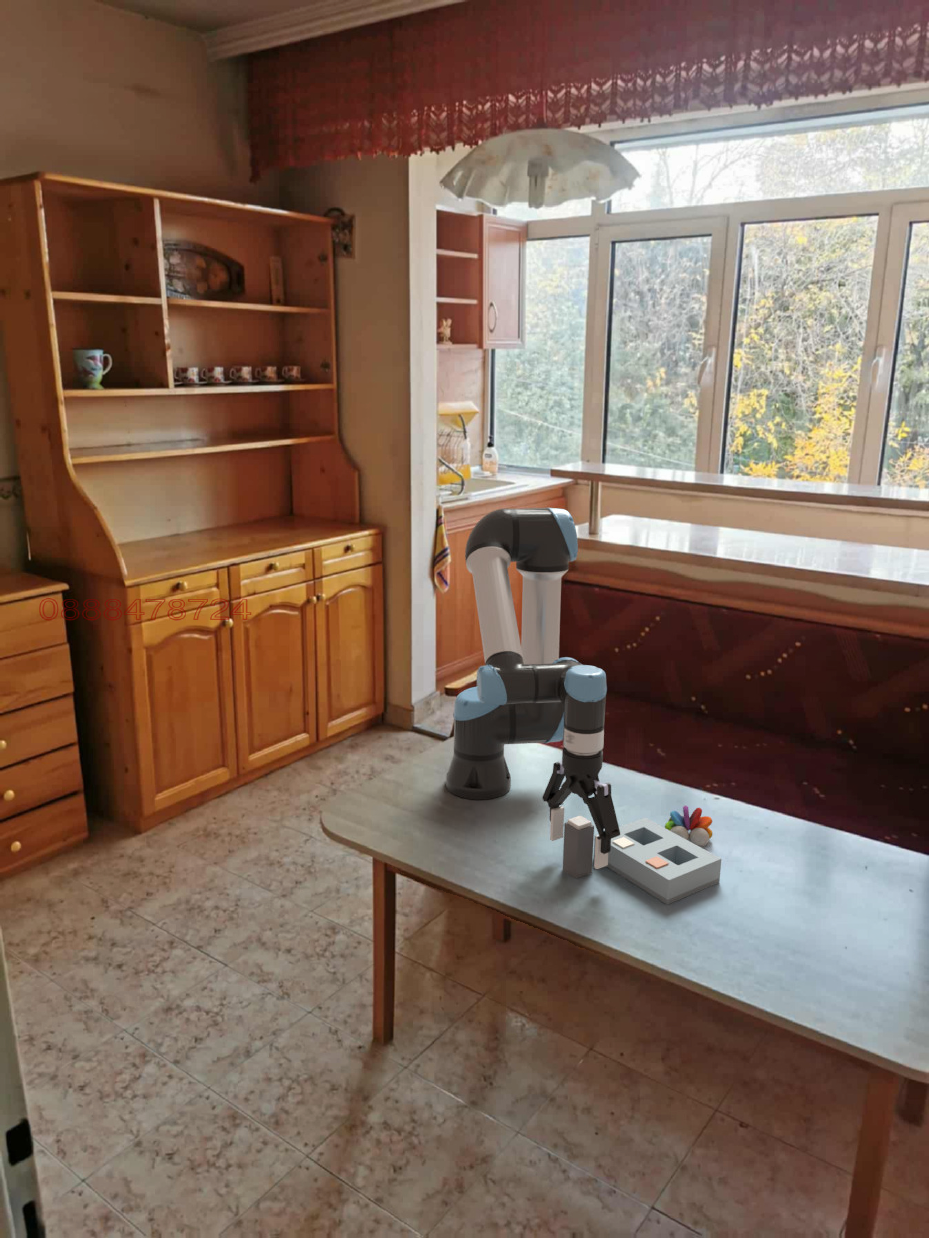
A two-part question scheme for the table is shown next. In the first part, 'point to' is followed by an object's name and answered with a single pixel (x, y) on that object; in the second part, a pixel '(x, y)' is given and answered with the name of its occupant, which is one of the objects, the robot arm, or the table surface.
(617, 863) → the socket box
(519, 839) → the table surface
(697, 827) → the rainbow petal fan toy
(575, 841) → the plug
